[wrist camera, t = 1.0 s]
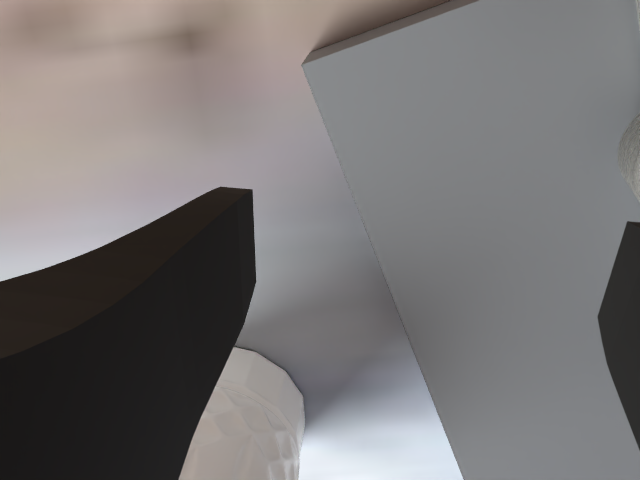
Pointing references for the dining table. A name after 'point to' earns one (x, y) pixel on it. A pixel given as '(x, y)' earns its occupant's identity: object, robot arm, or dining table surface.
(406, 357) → the dining table surface
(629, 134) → the peg lever
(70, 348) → the robot arm
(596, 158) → the dial board
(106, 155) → the dining table surface
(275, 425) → the white cup
